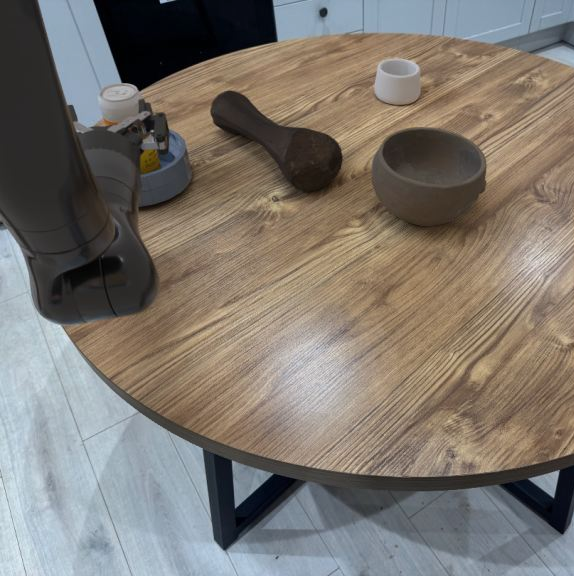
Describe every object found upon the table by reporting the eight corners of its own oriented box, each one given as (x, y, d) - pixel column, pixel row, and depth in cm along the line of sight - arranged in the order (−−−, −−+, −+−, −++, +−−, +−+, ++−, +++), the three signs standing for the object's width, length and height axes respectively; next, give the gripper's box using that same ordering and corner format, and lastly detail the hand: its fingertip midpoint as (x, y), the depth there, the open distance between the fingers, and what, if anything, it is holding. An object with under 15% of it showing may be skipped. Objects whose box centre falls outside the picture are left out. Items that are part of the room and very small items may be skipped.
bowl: (492, 194, 96) (504, 142, 89) (454, 256, 85) (464, 201, 78) (399, 165, 101) (404, 113, 94) (351, 219, 89) (352, 165, 82)
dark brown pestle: (337, 199, 96) (242, 149, 112) (355, 138, 93) (254, 95, 108) (288, 195, 88) (192, 141, 103) (306, 127, 85) (204, 82, 100)
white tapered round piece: (403, 111, 115) (406, 82, 110) (364, 96, 118) (365, 68, 114) (434, 90, 122) (437, 62, 118) (396, 76, 125) (398, 49, 121)
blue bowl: (80, 210, 88) (66, 177, 84) (110, 155, 99) (100, 123, 94) (181, 212, 89) (173, 179, 84) (201, 157, 99) (194, 126, 95)
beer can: (160, 188, 91) (136, 101, 81) (121, 190, 91) (91, 101, 80) (165, 167, 95) (143, 81, 85) (127, 168, 95) (100, 82, 84)
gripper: (164, 143, 62) (159, 76, 72) (18, 157, 58) (36, 85, 69) (177, 199, 67) (171, 129, 78) (44, 215, 64) (57, 139, 74)
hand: (108, 108), depth 73 cm, fingers open, 8 cm apart
